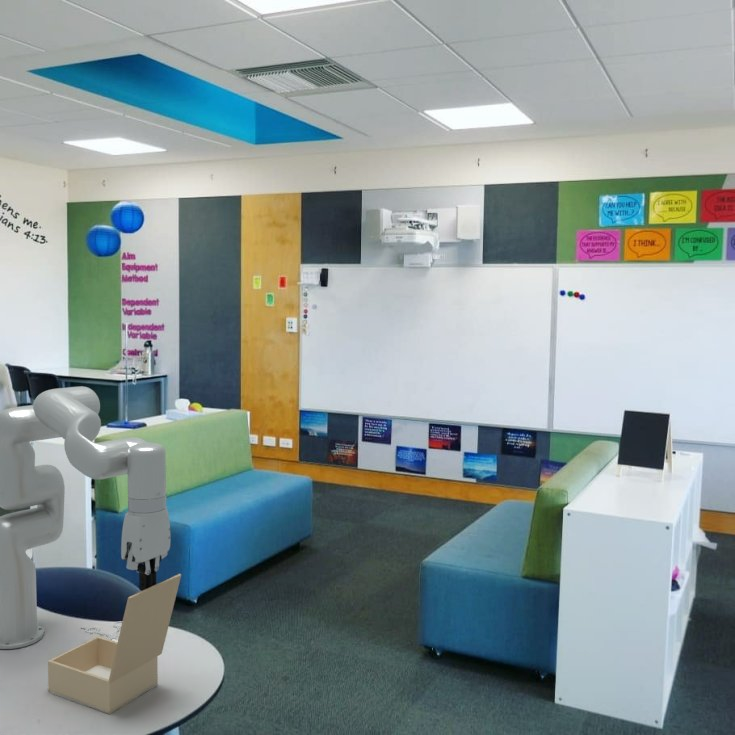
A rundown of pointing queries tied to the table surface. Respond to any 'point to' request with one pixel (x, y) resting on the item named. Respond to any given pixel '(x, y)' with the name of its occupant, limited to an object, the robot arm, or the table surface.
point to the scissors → (105, 634)
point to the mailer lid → (144, 627)
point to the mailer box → (98, 677)
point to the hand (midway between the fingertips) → (147, 590)
